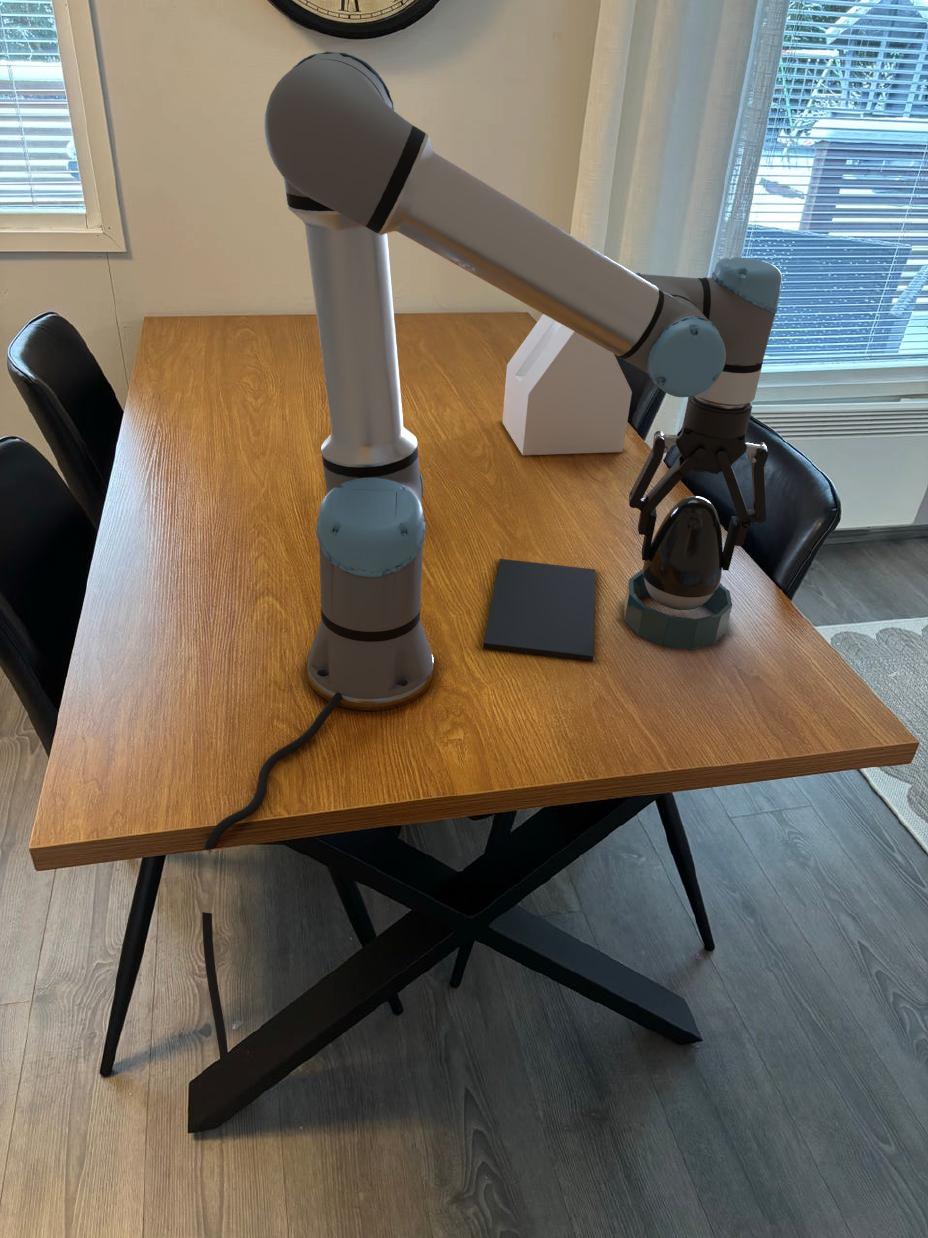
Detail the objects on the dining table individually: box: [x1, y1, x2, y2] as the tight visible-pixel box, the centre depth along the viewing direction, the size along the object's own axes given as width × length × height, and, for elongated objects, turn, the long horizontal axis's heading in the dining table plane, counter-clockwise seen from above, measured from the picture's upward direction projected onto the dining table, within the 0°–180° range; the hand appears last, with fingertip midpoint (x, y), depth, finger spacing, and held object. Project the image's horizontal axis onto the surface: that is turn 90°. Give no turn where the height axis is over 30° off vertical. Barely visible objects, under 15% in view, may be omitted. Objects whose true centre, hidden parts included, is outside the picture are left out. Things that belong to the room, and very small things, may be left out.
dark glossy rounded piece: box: [641, 495, 724, 611], centre depth 126 cm, size 10×10×15 cm
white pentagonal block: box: [502, 313, 633, 456], centre depth 176 cm, size 19×15×25 cm
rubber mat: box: [482, 558, 596, 662], centre depth 132 cm, size 22×14×1 cm, turn 173°
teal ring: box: [623, 568, 733, 650], centre depth 130 cm, size 14×14×4 cm
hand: (684, 560), depth 126 cm, fingers closed on dark glossy rounded piece, 10 cm apart
